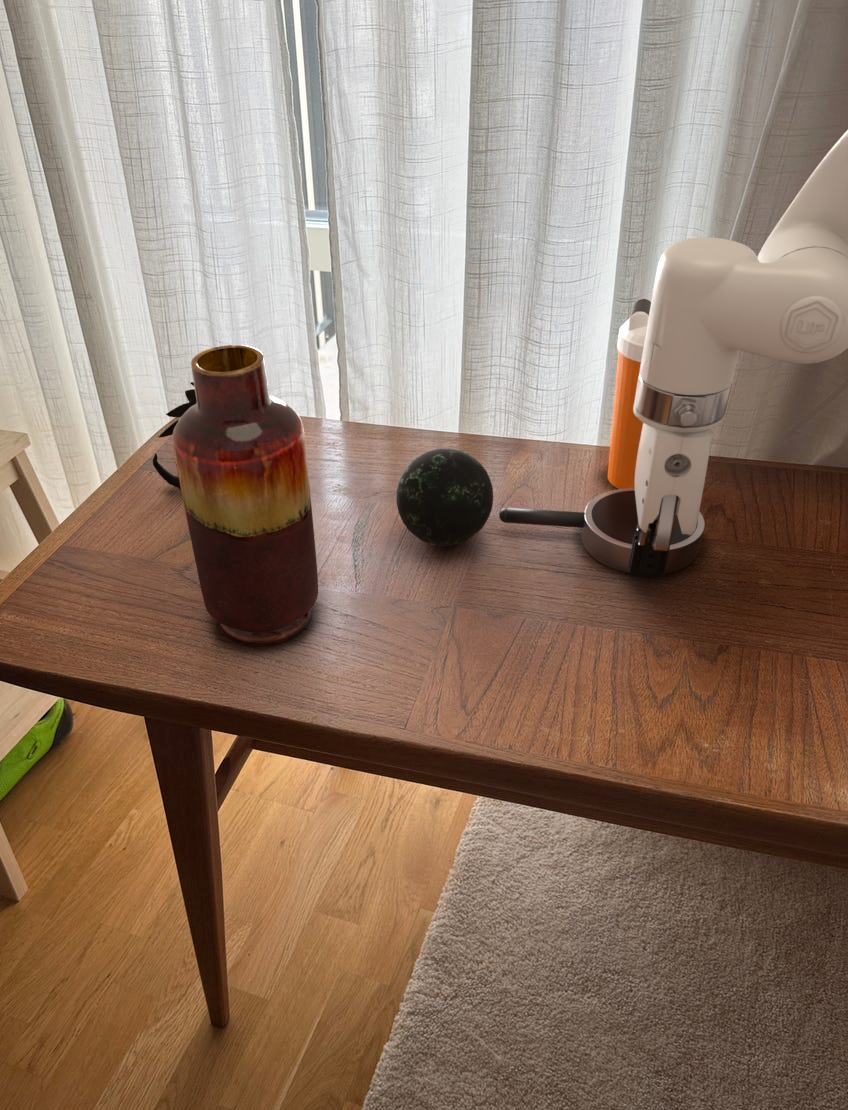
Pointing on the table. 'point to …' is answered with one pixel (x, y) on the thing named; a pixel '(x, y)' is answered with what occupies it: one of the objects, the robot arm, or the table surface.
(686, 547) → the pan
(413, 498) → the decorative stone
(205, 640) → the table surface
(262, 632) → the vase
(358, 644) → the table surface
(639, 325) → the shaker bottle
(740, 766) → the table surface
